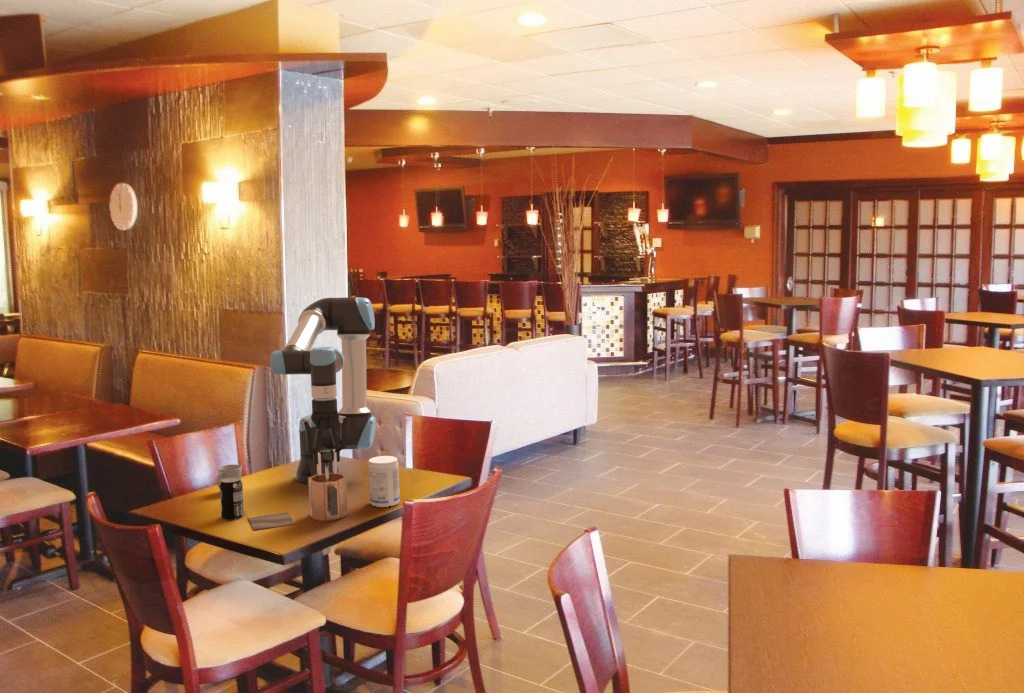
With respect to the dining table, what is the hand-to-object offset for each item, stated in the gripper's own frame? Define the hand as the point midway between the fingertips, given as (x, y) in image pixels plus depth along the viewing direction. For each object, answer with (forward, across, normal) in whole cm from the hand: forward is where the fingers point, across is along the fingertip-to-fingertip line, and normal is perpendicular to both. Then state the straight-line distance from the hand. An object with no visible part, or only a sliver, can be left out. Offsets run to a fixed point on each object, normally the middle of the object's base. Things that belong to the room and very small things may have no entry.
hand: (327, 473), depth 259 cm
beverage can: (+14, -27, +12) cm, 33 cm away
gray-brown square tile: (+13, -17, +2) cm, 22 cm away
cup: (+14, -25, +40) cm, 49 cm away
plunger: (+10, 0, 0) cm, 10 cm away
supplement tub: (+14, +19, +4) cm, 24 cm away
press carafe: (+13, 0, -1) cm, 14 cm away
